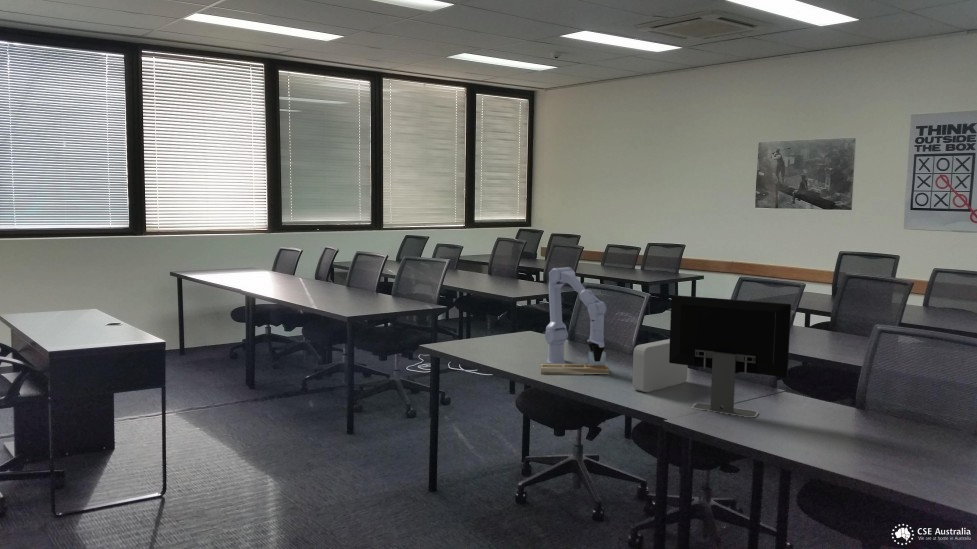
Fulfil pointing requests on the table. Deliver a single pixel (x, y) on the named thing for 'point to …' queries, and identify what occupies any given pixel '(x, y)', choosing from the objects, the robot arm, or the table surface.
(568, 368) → the rack
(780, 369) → the computer monitor
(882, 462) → the table surface
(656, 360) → the rounded white slab
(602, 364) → the brushed gray metal block
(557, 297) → the robot arm
